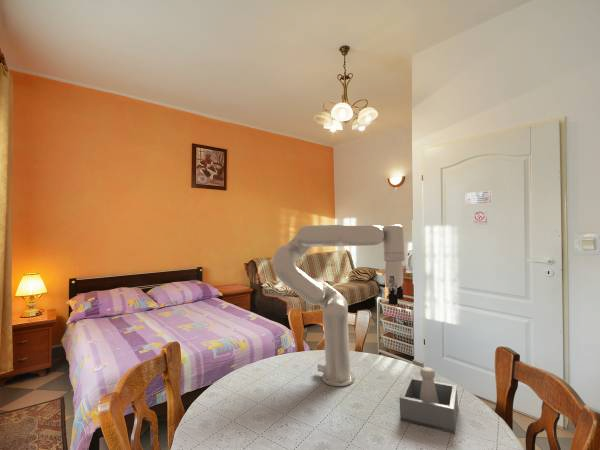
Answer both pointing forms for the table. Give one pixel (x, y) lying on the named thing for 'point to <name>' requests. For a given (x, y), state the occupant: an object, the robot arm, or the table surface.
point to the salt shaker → (428, 386)
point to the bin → (429, 406)
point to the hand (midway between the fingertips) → (396, 301)
